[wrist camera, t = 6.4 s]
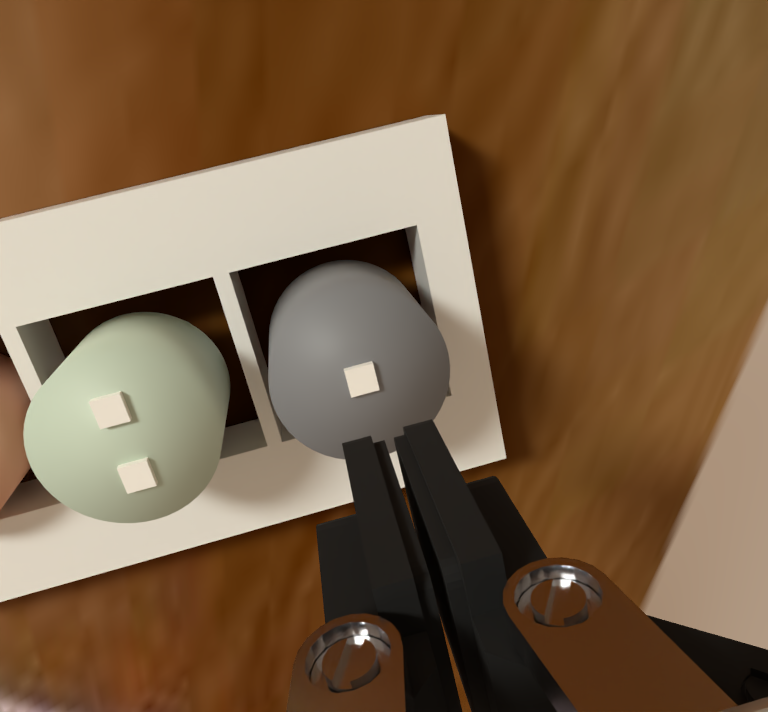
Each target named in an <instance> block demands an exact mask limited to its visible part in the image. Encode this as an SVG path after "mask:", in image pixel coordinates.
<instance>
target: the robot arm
mask: <svg viewBox="0 0 768 712" xmlns="http://www.w3.org/2000/svg"><path fill="white" fill-rule="evenodd" d="M403 432H404V435H401V436H398V437H394V443H395V447H396V451H397V455H398V460H399V464H400V468H401V472H402V476H403V481H404V485H405V489H406V493H407V497H408V502H409V506H410V510H411V514H412V518H413V522H414V526H413V523H412V520H411V517H410V514H409V511H408V508H407V505H406V502H405V499H404V496H403V493H402V490H401V487H400V484H399V481H398V478H397V475H396V473H395V470H394V467H393V464H392V461H391V458H390V455H389V452H388V449H387V446H386V443H385V440H383V441H379V442H375V443H373V441H372V437H371V436H367V437H363V438H360V439H356V440H352V441H348V442H345V443H342V446H343V451H344V456H345V461H346V466H347V471H348V476H349V481H350V486H351V491H352V496H353V501H354V506H355V511H356V514H354V515H350V516H347V517H343V518H339V519H336V520H332V521H328V522H325V523H321V524H318V525H317V526H316V529H317V541H318V551H319V562H320V572H321V583H322V593H323V603H324V614H325V624H324V625H322V626H320V627H319V628H318V629H317V630H316V631H314V632H313V633H312V634H311V635H310V636H309V637H307V639H306V640H305V642H304V643H303V644H302V646H301V647H300V649H299V650H298V652H297V655H296V658H295V661H294V664H293V671H292V677H291V684H290V691H289V697H288V704H287V710H286V712H462V708H461V704H460V700H459V696H458V691H457V687H456V683H455V679H454V674H453V670H452V666H451V662H450V657H449V653H448V649H447V645H446V641H445V636H444V632H443V628H442V624H441V620H442V623H443V626H444V629H445V632H446V635H447V638H448V641H449V644H450V647H451V650H452V654H453V657H454V660H455V663H456V666H457V669H458V672H459V675H460V678H461V681H462V684H463V687H464V690H465V693H466V696H467V699H468V702H469V705H470V708H471V711H472V712H768V650H766V649H763V648H759V647H756V646H753V645H749V644H745V643H742V642H738V641H735V640H732V639H728V638H725V637H721V636H718V635H714V634H710V633H707V632H704V631H700V630H697V629H693V628H689V627H686V626H683V625H679V624H676V623H672V622H669V621H665V620H662V619H658V618H655V617H651V616H648V615H646V614H645V613H644V612H643V611H642V610H641V609H640V608H639V607H638V606H637V605H636V604H635V603H634V602H633V601H632V600H630V599H629V598H628V597H627V596H626V595H625V594H624V593H623V592H622V591H621V590H620V589H619V588H618V587H617V586H616V585H615V584H614V583H613V582H612V581H611V580H610V579H609V578H608V577H607V576H606V575H605V574H604V573H603V572H601V571H600V570H598V569H597V568H596V567H594V566H593V565H590V564H588V563H585V562H582V561H580V560H576V559H569V558H547V557H546V556H545V554H544V552H543V551H542V549H541V547H540V546H539V544H538V543H537V541H536V539H535V538H534V536H533V535H532V533H531V531H530V530H529V528H528V526H527V525H526V523H525V522H524V520H523V518H522V517H521V515H520V514H519V512H518V510H517V509H516V507H515V505H514V504H513V502H512V501H511V499H510V497H509V496H508V494H507V492H506V491H505V489H504V488H503V486H502V484H501V483H500V481H499V480H498V479H497V477H495V476H492V477H488V478H484V479H481V480H477V481H474V482H470V483H465V481H464V479H463V477H462V475H461V473H460V471H459V469H458V468H457V466H456V464H455V462H454V460H453V458H452V456H451V454H450V452H449V450H448V448H447V446H446V445H445V443H444V441H443V439H442V437H441V435H440V433H439V431H438V429H437V427H436V425H435V423H434V421H433V420H432V419H431V420H427V421H423V422H419V423H416V424H412V425H408V426H404V427H403ZM414 527H415V529H414ZM415 531H416V532H415ZM439 614H440V615H439ZM440 617H441V619H440Z"/></svg>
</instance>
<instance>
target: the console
mask: <svg viewBox="0 0 768 712" xmlns="http://www.w3.org/2000/svg"><path fill="white" fill-rule="evenodd" d="M403 228H405V230H406V235H407V240H408V245H409V249H410V254H411V259H412V264H413V268H414V273H415V278H416V282H417V287H418V292H419V297H420V301H421V306H422V308H423V310H424V311H425V312H426V313H427V314H428V316H429V317H430V318H431V319H432V320H433V322H434V323H435V324H436V326H437V327H438V329H439V331H440V332H441V334H442V336H443V339H444V341H445V343H446V347H447V350H448V354H449V361H450V380H449V387H448V391H447V394H446V398H445V400H444V402H443V405H442V407H441V409H440V411H439V413H438V414H437V416H436V418H435V419H434V420H433V421H434V423H435V425H436V427H437V429H438V431H439V433H440V435H441V437H442V439H443V441H444V443H445V445H446V446H447V448H448V450H449V452H450V454H451V456H452V458H453V460H454V462H455V464H456V466H457V468H458V469H459V471H463V470H467V469H470V468H474V467H477V466H481V465H485V464H488V463H492V462H495V461H499V460H502V459H506V454H505V448H504V442H503V437H502V431H501V426H500V420H499V414H498V409H497V403H496V397H495V392H494V386H493V381H492V375H491V369H490V364H489V358H488V353H487V347H486V341H485V336H484V330H483V324H482V319H481V313H480V308H479V302H478V296H477V291H476V285H475V279H474V274H473V268H472V263H471V257H470V251H469V246H468V240H467V235H466V229H465V223H464V218H463V212H462V206H461V201H460V195H459V190H458V184H457V178H456V173H455V167H454V162H453V156H452V150H451V145H450V139H449V133H448V128H447V122H446V117H445V114H441V115H428V116H423V117H419V118H415V119H411V120H406V121H402V122H398V123H394V124H390V125H386V126H382V127H378V128H373V129H369V130H365V131H361V132H357V133H353V134H349V135H344V136H340V137H336V138H332V139H328V140H324V141H320V142H315V143H311V144H307V145H303V146H299V147H295V148H291V149H287V150H282V151H278V152H274V153H270V154H266V155H262V156H258V157H253V158H249V159H245V160H241V161H237V162H233V163H229V164H225V165H220V166H216V167H212V168H208V169H204V170H200V171H196V172H191V173H187V174H183V175H179V176H175V177H171V178H167V179H163V180H158V181H154V182H150V183H146V184H142V185H138V186H134V187H129V188H125V189H121V190H117V191H113V192H109V193H105V194H101V195H96V196H92V197H88V198H84V199H80V200H76V201H72V202H67V203H63V204H59V205H55V206H51V207H47V208H43V209H39V210H34V211H30V212H26V213H22V214H18V215H14V216H10V217H5V218H1V219H0V335H1V337H2V339H3V341H4V344H5V346H6V348H7V350H8V352H9V354H10V357H11V359H12V361H13V363H14V365H15V368H16V370H17V372H18V374H19V376H20V379H21V381H22V383H23V385H24V387H25V389H26V392H27V394H28V396H29V398H30V400H31V401H32V399H33V397H34V396H35V394H36V393H37V391H38V390H39V389H40V387H41V386H42V385H43V384H44V383H45V381H46V380H47V379H48V378H49V377H50V376H51V375H52V374H53V373H54V371H55V370H56V369H57V368H58V367H59V366H60V365H61V364H62V362H63V361H64V360H65V357H64V354H63V352H62V350H61V347H60V345H59V343H58V340H57V338H56V336H55V333H54V331H53V329H52V326H51V324H50V322H49V318H53V317H57V316H61V315H65V314H69V313H73V312H77V311H81V310H85V309H88V308H92V307H96V306H100V305H104V304H108V303H112V302H116V301H120V300H124V299H128V298H132V297H136V296H140V295H144V294H147V293H151V292H155V291H159V290H163V289H167V288H171V287H175V286H179V285H183V284H187V283H191V282H195V281H199V280H203V279H206V278H210V277H213V279H214V282H215V285H216V288H217V291H218V294H219V297H220V301H221V304H222V307H223V310H224V313H225V316H226V319H227V322H228V325H229V328H230V331H231V334H232V338H233V341H234V344H235V347H236V350H237V353H238V356H239V359H240V362H241V365H242V368H243V371H244V375H245V378H246V381H247V384H248V387H249V390H250V393H251V396H252V399H253V402H254V405H255V408H256V412H257V415H258V418H259V419H255V420H252V421H248V422H244V423H240V424H237V425H233V426H229V427H226V428H225V430H224V436H223V442H222V448H221V454H220V460H219V463H218V466H217V469H216V471H215V473H214V475H213V477H212V479H211V481H210V482H209V484H208V485H207V486H206V488H205V489H204V490H203V491H202V492H201V493H200V495H199V496H198V497H197V498H195V499H194V500H193V501H192V502H191V503H189V504H188V505H186V506H185V507H183V508H182V509H180V510H179V511H176V512H174V513H172V514H170V515H168V516H165V517H162V518H159V519H156V520H151V521H147V522H139V523H115V522H107V521H102V520H98V519H94V518H91V517H88V516H85V515H83V514H81V513H78V512H76V511H74V510H72V509H71V508H69V507H67V506H66V505H64V504H62V503H61V502H60V501H59V500H57V499H56V498H55V497H54V496H52V495H51V494H50V493H49V492H48V491H47V490H46V489H45V488H44V486H43V485H42V484H41V482H40V481H39V480H38V479H34V480H31V481H27V482H23V483H20V484H19V485H18V486H17V488H16V489H15V490H14V492H13V493H12V495H11V496H10V497H9V499H8V500H7V502H6V503H5V504H4V506H3V507H2V509H1V510H0V602H2V601H6V600H9V599H13V598H16V597H20V596H23V595H27V594H30V593H34V592H38V591H41V590H45V589H48V588H52V587H55V586H59V585H62V584H66V583H69V582H73V581H76V580H80V579H83V578H87V577H90V576H94V575H97V574H101V573H104V572H108V571H111V570H115V569H118V568H122V567H126V566H129V565H133V564H136V563H140V562H143V561H147V560H150V559H154V558H157V557H161V556H164V555H168V554H171V553H175V552H178V551H182V550H185V549H189V548H192V547H196V546H199V545H203V544H206V543H210V542H213V541H217V540H221V539H224V538H228V537H231V536H235V535H238V534H242V533H245V532H249V531H252V530H256V529H259V528H263V527H266V526H270V525H273V524H277V523H280V522H284V521H287V520H291V519H294V518H298V517H301V516H305V515H309V514H312V513H316V512H319V511H323V510H326V509H330V508H333V507H337V506H340V505H344V504H347V503H351V502H354V501H353V496H352V491H351V486H350V481H349V476H348V471H347V466H346V461H345V459H338V458H333V457H329V456H326V455H323V454H321V453H318V452H316V451H314V450H312V449H310V448H308V447H307V446H305V445H304V444H302V443H301V442H300V441H298V440H297V439H296V438H295V437H294V436H293V435H292V434H291V433H290V432H289V431H288V430H287V429H286V428H285V426H284V425H283V424H282V422H281V421H280V419H279V417H278V415H277V414H276V411H275V409H274V406H273V404H272V401H271V396H270V392H269V382H268V368H267V365H266V362H265V358H264V355H263V352H262V349H261V345H260V342H259V339H258V336H257V332H256V329H255V326H254V323H253V320H252V316H251V313H250V310H249V307H248V303H247V300H246V297H245V294H244V290H243V287H242V284H241V281H240V278H239V274H238V270H242V269H246V268H250V267H254V266H258V265H262V264H265V263H269V262H273V261H277V260H281V259H285V258H289V257H293V256H297V255H301V254H305V253H309V252H313V251H317V250H321V249H324V248H328V247H332V246H336V245H340V244H344V243H348V242H352V241H356V240H360V239H364V238H368V237H372V236H376V235H380V234H383V233H387V232H391V231H395V230H399V229H403ZM389 455H390V458H391V461H392V464H393V467H394V470H395V473H396V475H397V478H398V481H399V484H400V487H401V488H404V487H405V485H404V481H403V476H402V472H401V468H400V464H399V460H398V455H397V451H395V452H393V453H390V454H389Z"/></svg>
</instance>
